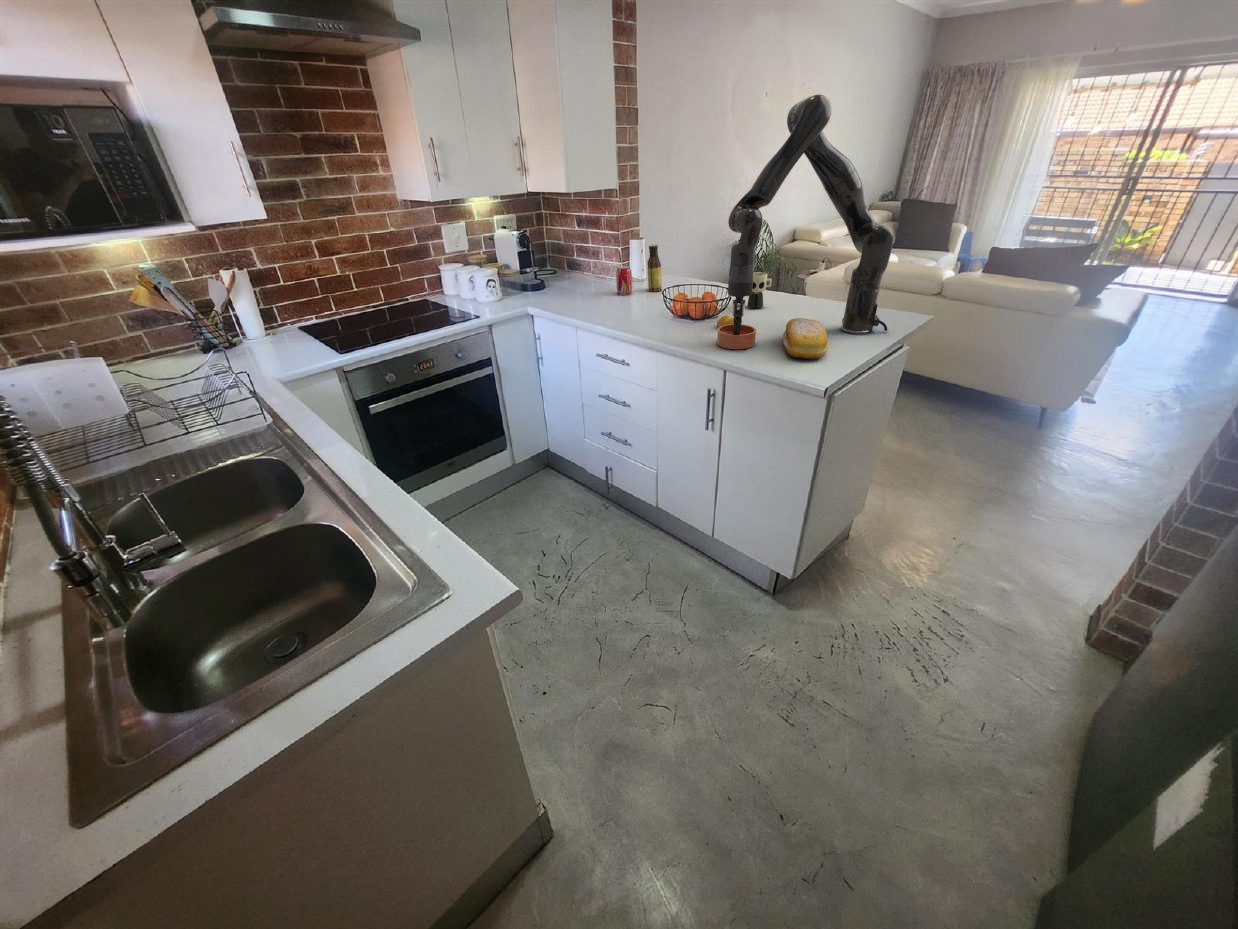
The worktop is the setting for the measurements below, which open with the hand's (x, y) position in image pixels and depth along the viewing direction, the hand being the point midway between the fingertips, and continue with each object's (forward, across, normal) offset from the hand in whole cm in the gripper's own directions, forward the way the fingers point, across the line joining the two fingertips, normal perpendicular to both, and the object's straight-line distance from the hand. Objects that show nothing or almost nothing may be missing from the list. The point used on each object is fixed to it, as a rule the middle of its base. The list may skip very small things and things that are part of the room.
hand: (736, 330), depth 165 cm
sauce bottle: (+5, +75, +40) cm, 85 cm away
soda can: (+5, +68, +53) cm, 86 cm away
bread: (+5, -2, -21) cm, 22 cm away
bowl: (+5, 0, 0) cm, 5 cm away
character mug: (+5, +47, -6) cm, 48 cm away
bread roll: (+5, +19, +3) cm, 20 cm away
